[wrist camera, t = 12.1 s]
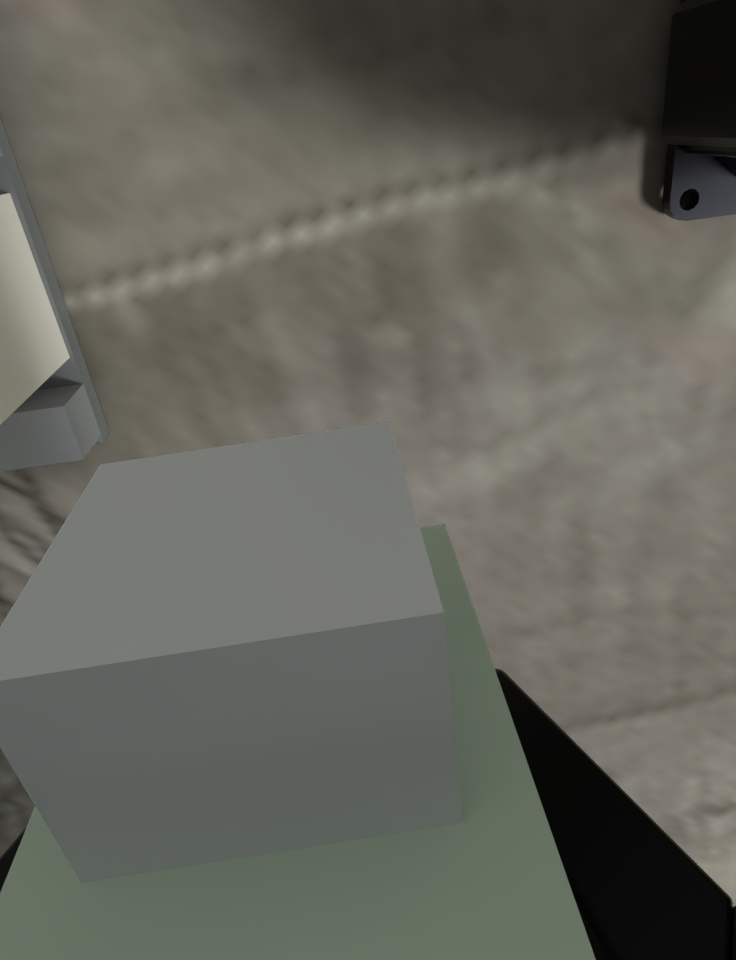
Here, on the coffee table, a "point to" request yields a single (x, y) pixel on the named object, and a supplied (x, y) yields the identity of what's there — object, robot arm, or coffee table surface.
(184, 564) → the sage plug
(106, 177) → the coffee table surface
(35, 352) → the cream plug
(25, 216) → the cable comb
